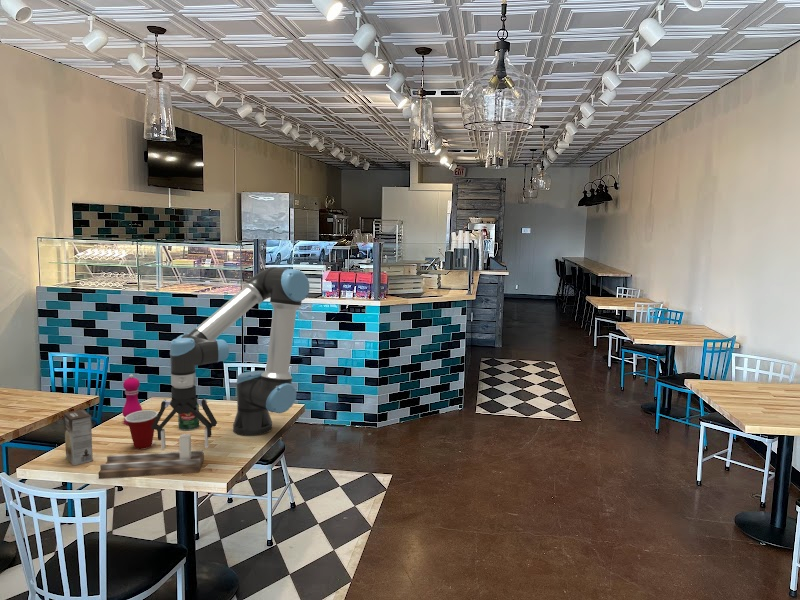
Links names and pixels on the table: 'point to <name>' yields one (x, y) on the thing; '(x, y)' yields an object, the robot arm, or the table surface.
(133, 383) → the pepper mill
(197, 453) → the fader track
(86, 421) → the coffee box
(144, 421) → the plastic cup
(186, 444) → the fader tab
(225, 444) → the table surface
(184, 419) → the canned tomato
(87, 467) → the table surface
